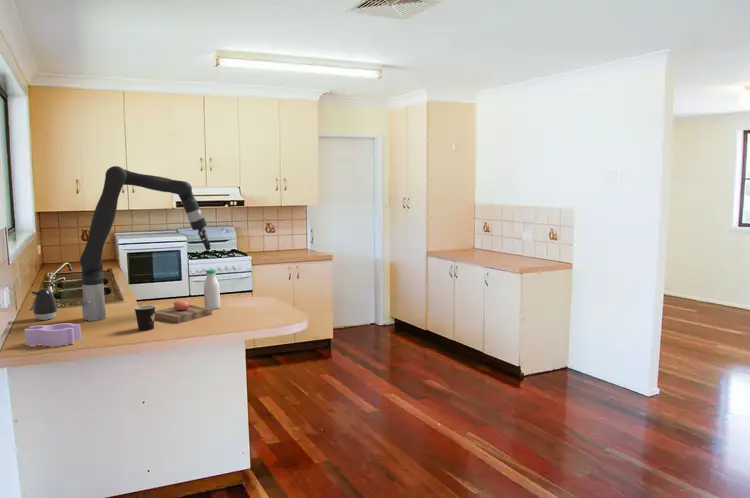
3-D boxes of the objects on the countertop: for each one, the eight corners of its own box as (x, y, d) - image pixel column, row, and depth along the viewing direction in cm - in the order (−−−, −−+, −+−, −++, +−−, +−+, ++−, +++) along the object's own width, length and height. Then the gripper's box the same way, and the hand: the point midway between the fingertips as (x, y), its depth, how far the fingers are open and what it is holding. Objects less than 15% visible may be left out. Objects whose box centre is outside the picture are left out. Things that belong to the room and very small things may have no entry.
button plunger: (180, 310, 292) (180, 304, 292) (171, 308, 296) (170, 302, 295) (192, 307, 298) (191, 301, 297) (182, 306, 302) (182, 300, 301)
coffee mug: (144, 332, 268) (142, 310, 267) (131, 330, 272) (130, 308, 271) (166, 326, 278) (164, 305, 276) (153, 324, 282) (152, 303, 281)
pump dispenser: (30, 319, 296) (27, 288, 294) (53, 315, 303) (50, 285, 301) (37, 322, 289) (35, 291, 287) (61, 318, 296) (58, 288, 295)
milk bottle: (223, 307, 315) (221, 269, 313) (212, 310, 309) (210, 271, 306) (213, 306, 320) (211, 268, 317) (201, 308, 313) (199, 270, 311)
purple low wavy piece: (20, 348, 246) (19, 331, 246) (35, 340, 259) (34, 324, 258) (71, 346, 248) (70, 330, 247) (84, 338, 260) (82, 322, 259)
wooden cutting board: (178, 323, 283) (178, 316, 283) (151, 318, 295) (151, 311, 294) (212, 314, 300) (211, 308, 300) (185, 310, 311) (185, 304, 311)
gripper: (189, 220, 314) (201, 248, 318) (188, 223, 300) (201, 253, 304) (203, 214, 315) (215, 243, 319) (203, 218, 302) (215, 248, 306)
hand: (208, 248), depth 312 cm, fingers open, 8 cm apart
